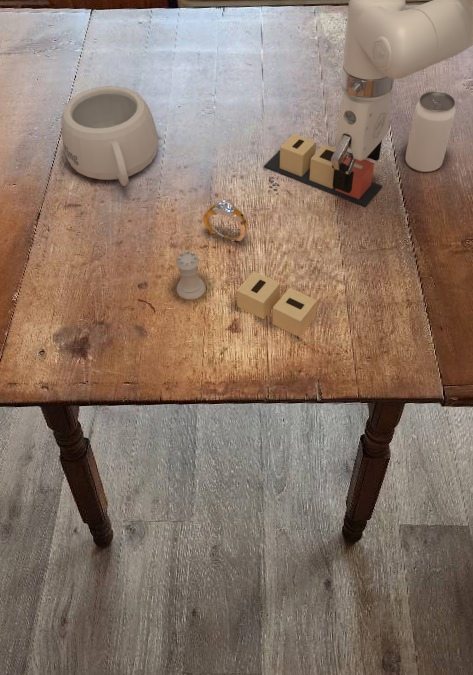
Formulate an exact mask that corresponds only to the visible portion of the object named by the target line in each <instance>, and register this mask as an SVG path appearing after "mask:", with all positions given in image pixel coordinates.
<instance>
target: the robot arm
mask: <svg viewBox="0 0 473 675" xmlns="http://www.w3.org/2000/svg"><path fill="white" fill-rule="evenodd" d="M346 17H347V19H346V28H345V38H344V50H343V63H342V73H341V83H340V84H341V85H340V88H341V91H342V92H343V94H342V98H341V103H340V108H339V112H338V113H339V114H338V120H337V126H336V133H335V135H336V136H335V149H336V150H335V152H334V154H333V155H332V157H331V162H332V168H333V169H334V176H333V187H334V188H336V189H339V190H341V191H344V192H347V193H350V192H351V191H352V184H353V175H354V172H353V171H352V169H353V166H354V164H355V161H356V159H357V160H359V161H361V160H364V159H365V160H366V159H370V160H372V161H375V162H377V161H379V159H380V156H381V151H382V150H381V149H382V144H383V140H384V138H385V137H386V135H387V134H388V132H389V130H390V124H391V114H392V107H393V106H392V104H393V90H394V81H395V80H399V79H403V78H407V77H409V76H411V75H413V74H414V75H415V74H416V73H418V72H422V71H424V70H425V69H427V68H429V67H432V66H434V65H436V64H439V63H441V62H443V61H446V60H449V59H450V58H453V57H455V56H457V55H459V54H461V53H463V52H464V51H466V50H468V49H469V48H470V47H472V46H473V0H429V1H427V2H425V3H422V4H419V5H417V6H414V7H412V8H409V9H406V0H349V1H348V5H347V16H346ZM348 149H350V151H351V152H350V151H348ZM344 155H346V156H347V158H348V157H351V158H350V161H349V164H348V166H347V165H346V164H344V163H343V157H344Z"/></svg>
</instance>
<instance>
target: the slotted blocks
mask: <svg viewBox="0 0 473 675" xmlns="http://www.w3.org/2000/svg"><path fill="white" fill-rule="evenodd" d="M317 306H318V299H316V298H313V297H312V296H309V295H308V294H305V293H304V292H300V291H298V290H296V289H294V288H293V287H288V288H287V290H286V291H285V292H284V293H283V295H282V296H281V282H279V281H277V280H276V279H275V280H274V279H273V278H270V277H269V276H266V275H264V274H261V273H260V272H257V271H255V270H253V271H252V272H251V273H250V274H249V276H248V277H246V279H245V280H244V281H243V282H242V284H241V285H240V286H238V288H237V289H236V307H237V308H239V309H241V310H243V311H245V312H247V313H248V314H251V315H253V316H255V317H257V318H259V319H261V320H264V319H265V318H266V317H267V316H268V314H270V313H271V311H272V325H273V326H276V327H278V328H280V329H282V330H284V331H286V332H288V333H290V334H292V335H294V336H296V337H298V338H301V337H302V335H303V334H304V333H305V331H306V330H307V329H308V328H309V327H310V325H311V323H313V321H314V320H315V318H316V317H317V308H318V307H317Z"/></svg>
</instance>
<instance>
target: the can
mask: <svg viewBox="0 0 473 675" xmlns="http://www.w3.org/2000/svg"><path fill="white" fill-rule="evenodd" d="M455 105H456V100H455V99H454V97H453V96H451V94H448V93H447V92H443V91H437V90H435V91H434V90H432V91H427V92H424V93H423V94H421V96H420V97H419V100H418V102H417V103H416V104H415V107H414V112H413V116H412V122H411V127H410V132H409V136H408V142H407V147H406V151H405V157H404V158H405V160H404V161H405V163H406V165H408V167H410V169H411V170H414V171H417V172H419V173H433V172H435V171H436V170H438V169H439V168H441V167H442V165H443V163H444V160H445V155H446V152H447V148H448V144H449V141H450V136H451V132H452V128H453V124H454V120H455V117H456V107H455Z"/></svg>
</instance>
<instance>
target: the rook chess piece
mask: <svg viewBox="0 0 473 675" xmlns="http://www.w3.org/2000/svg"><path fill="white" fill-rule="evenodd" d="M184 252H185V253H184ZM175 264H176V266H177V268H178V272H179V274H180V279H179V281H178V283H177V285H176V293H177V295H178V296H179V297H180V298H182V299H185V300H196V299H198V298H200V297H202V296H203V295H204V293H205V291H206V283H204V281H203V280H202V279H201V278H200V276H199V273H198V271H199V266H198V265H199V264H200V258H199V257H198V256H197V255H196V253H195V252H194V251H191V252H190V250H189V249H187V250H185V251H181V252H180V253H179V255H178V256H177V258H176V260H175Z"/></svg>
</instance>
